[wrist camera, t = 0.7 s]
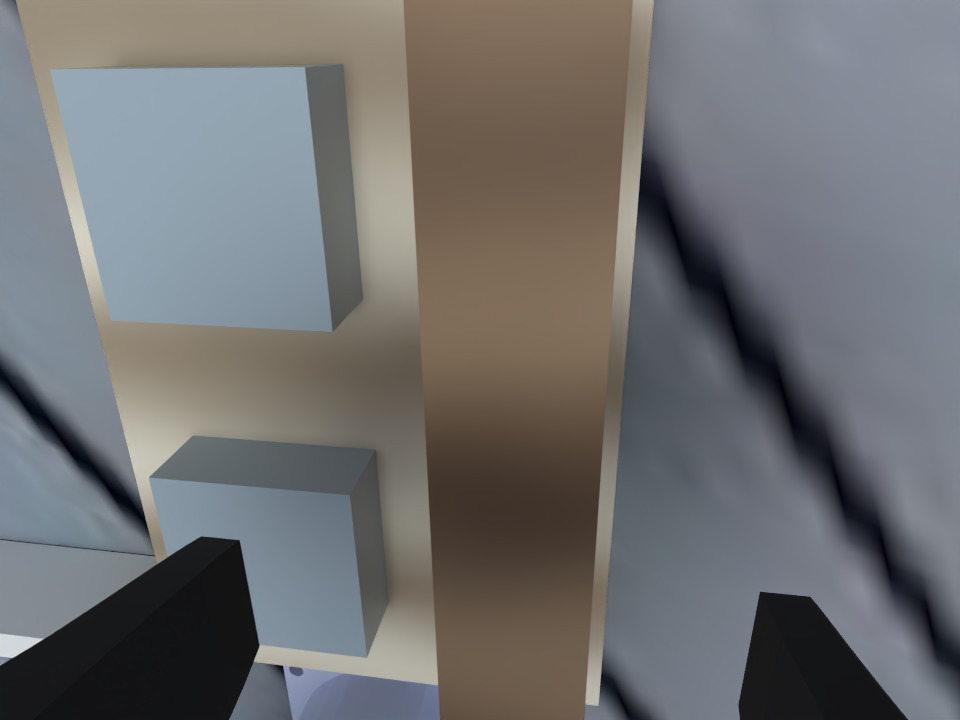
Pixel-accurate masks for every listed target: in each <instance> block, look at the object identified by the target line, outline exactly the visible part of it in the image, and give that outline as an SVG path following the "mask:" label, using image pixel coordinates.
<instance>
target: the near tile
mask: <svg viewBox="0 0 960 720" xmlns="http://www.w3.org/2000/svg"><path fill="white" fill-rule="evenodd" d="M50 72H51V76H52V80H53V85H54V89H55V93H56V97H57V101H58V105H59V109H60V114H61V118H62V122H63V126H64V130H65V134H66V138H67V142H68V147H69V151H70V155H71V159H72V163H73V167H74V171H75V176H76V180H77V184H78V188H79V192H80V196H81V200H82V205H83V209H84V213H85V217H86V221H87V225H88V229H89V233H90V238H91V242H92V246H93V250H94V254H95V258H96V262H97V267H98V271H99V275H100V279H101V283H102V287H103V291H104V296H105V300H106V304H107V308H108V312H109V316H110V320H111V321H129V322H148V323H168V324H187V325H207V326H226V327H246V328H265V329H285V330H304V331H324V332H333V331H334V330H335V329H336V328H337V327H338V326H339V325H340V324H341V323H342V322H343V320H344V319H345V318H346V317H347V316H348V315H349V314H350V313H351V312H352V311H353V310H354V309H355V308H356V307H357V306H358V305H359V303H360V302H361V301H362V300H363V293H362V281H361V269H360V257H359V246H358V234H357V222H356V210H355V198H354V187H353V175H352V163H351V151H350V139H349V127H348V116H347V104H346V92H345V80H344V68H343V64H257V65H147V66H103V67H84V68H66V69H50Z"/></svg>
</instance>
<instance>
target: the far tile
mask: <svg viewBox="0 0 960 720" xmlns="http://www.w3.org/2000/svg"><path fill="white" fill-rule="evenodd" d="M149 482H150V486H151V490H152V494H153V498H154V502H155V506H156V511H157V515H158V519H159V523H160V527H161V531H162V535H163V540H164V544H165V548H166V552H167V556H168V557H169V556H170V555H172V554H173V553H175V552H176V551H178V550H179V549H181V548H183V547H184V546H186V545H187V544H189V543H191V542H192V541H194V540H196V539H197V538H199V537H201V536H204V537H214V538H224V539H234V540H240V544H241V549H242V554H243V560H244V565H245V570H246V576H247V581H248V586H249V592H250V597H251V602H252V607H253V613H254V618H255V623H256V629H257V634H258V639H259V645H266V646H274V647H282V648H290V649H298V650H306V651H314V652H322V653H330V654H338V655H346V656H354V657H362V658H367V657H368V654H369V652H370V649H371V646H372V644H373V641H374V639H375V636H376V634H377V631H378V628H379V626H380V623H381V621H382V618H383V616H384V613H385V610H386V608H387V605H388V603H389V600H388V589H387V577H386V565H385V553H384V541H383V529H382V518H381V506H380V494H379V482H378V470H377V458H376V450H375V449H362V448H349V447H336V446H323V445H310V444H297V443H284V442H271V441H258V440H245V439H232V438H219V437H206V436H192V437H191V438H190V439H188V440H187V441H186V442H185V443H184V444H183V445H182V446H181V447H180V448H179V449H178V450H177V451H176V452H175V453H174V454H173V455H172V456H171V457H170V458H169V459H168V460H166V461H165V462H164V463H163V464H162V465H161V466H160V467H159V468H158V469H157V470H156V471H155V472H154V473H153V474H152V475H151V476H150V477H149Z"/></svg>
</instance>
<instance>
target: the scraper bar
mask: <svg viewBox="0 0 960 720" xmlns="http://www.w3.org/2000/svg"><path fill="white" fill-rule="evenodd" d="M403 2H404V21H405V41H406V61H407V81H408V100H409V120H410V140H411V159H412V179H413V199H414V219H415V238H416V258H417V278H418V298H419V317H420V337H421V357H422V377H423V396H424V416H425V436H426V455H427V475H428V495H429V515H430V534H431V554H432V574H433V594H434V613H435V633H436V653H437V673H438V692H439V712H440V720H584V715H585V700H586V686H587V671H588V656H589V641H590V627H591V612H592V597H593V582H594V568H595V553H596V538H597V523H598V508H599V494H600V479H601V464H602V449H603V435H604V420H605V405H606V390H607V376H608V361H609V346H610V331H611V317H612V302H613V287H614V272H615V257H616V243H617V228H618V213H619V198H620V184H621V169H622V154H623V139H624V125H625V110H626V95H627V80H628V66H629V51H630V36H631V21H632V6H633V0H403Z"/></svg>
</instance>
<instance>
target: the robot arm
mask: <svg viewBox="0 0 960 720" xmlns="http://www.w3.org/2000/svg"><path fill="white" fill-rule="evenodd" d="M259 647H260V645H259V639H258V634H257V629H256V623H255V618H254V613H253V607H252V602H251V597H250V592H249V586H248V581H247V576H246V570H245V565H244V560H243V554H242V549H241V544H240V540H234V539H224V538H214V537H204V536H201V537H199V538H197V539H196V540H194V541H192V542H191V543H189V544H187V545H186V546H184V547H183V548H181V549H179V550H178V551H176V552H175V553H173V554H172V555H170V556H169V557H167V558H166V559H164V560H163V561H161V562H160V563H158V564H157V565H155V566H154V567H152V568H151V569H149V570H148V571H146V572H145V573H143V574H142V575H140V576H139V577H137V578H136V579H134V580H133V581H131V582H130V583H128V584H127V585H125V586H124V587H122V588H121V589H119V590H118V591H116V592H115V593H113V594H112V595H110V596H109V597H107V598H106V599H104V600H103V601H101V602H100V603H98V604H97V605H95V606H94V607H92V608H91V609H89V610H88V611H86V612H85V613H83V614H82V615H80V616H79V617H77V618H76V619H74V620H72V621H71V622H69V623H68V624H66V625H65V626H63V627H62V628H60V629H59V630H57V631H56V632H54V633H53V634H51V635H49V636H48V637H46V638H45V639H43V640H41V641H40V642H38V643H36V644H35V645H33V646H32V647H30V648H28V649H27V650H25V651H23V652H22V653H20V654H19V655H17V656H15V657H14V658H12V659H10V660H9V661H7V662H6V663H4V664H2V665H1V666H0V720H229V718H230V716H231V714H232V712H233V710H234V707H235V705H236V703H237V700H238V698H239V696H240V694H241V691H242V689H243V687H244V684H245V682H246V679H247V677H248V674H249V672H250V669H251V667H252V664H253V662H254V659H255V657H256V654H257V652H258V649H259ZM283 668H284V673H285V679H286V685H287V691H288V697H289V703H290V708H291V714H292V720H440V712H439V692H438V685H432V684H424V683H416V682H408V681H400V680H393V679H385V678H377V677H369V676H361V675H353V674H346V673H338V672H330V671H322V670H314V669H307V668H299V667H291V666H283ZM739 714H740V720H908V719H907V718H906V717H905V715H904V714H903V713H902V712H901V711H900V709H899V708H898V707H897V706H896V704H895V703H894V702H893V701H892V700H891V698H890V697H889V696H888V695H887V693H886V692H885V691H884V690H883V688H882V687H881V686H880V685H879V683H878V682H877V681H876V680H875V678H874V677H873V676H872V675H871V673H870V672H869V671H868V670H867V668H866V667H865V666H864V665H863V663H862V662H861V661H860V659H859V658H858V657H857V656H856V654H855V653H854V652H853V650H852V649H851V648H850V647H849V645H848V644H847V643H846V641H845V640H844V639H843V638H842V636H841V635H840V634H839V632H838V631H837V630H836V629H835V627H834V626H833V625H832V623H831V622H830V621H829V619H828V618H827V617H826V616H825V614H824V613H823V612H822V610H821V609H820V608H819V607H818V605H817V604H816V603H815V602H814V601H813V600H812V598H811V597H807V596H797V595H787V594H777V593H767V592H760V595H759V600H758V605H757V611H756V616H755V621H754V626H753V632H752V637H751V642H750V647H749V653H748V658H747V663H746V668H745V674H744V679H743V684H742V689H741V695H740V700H739Z"/></svg>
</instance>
